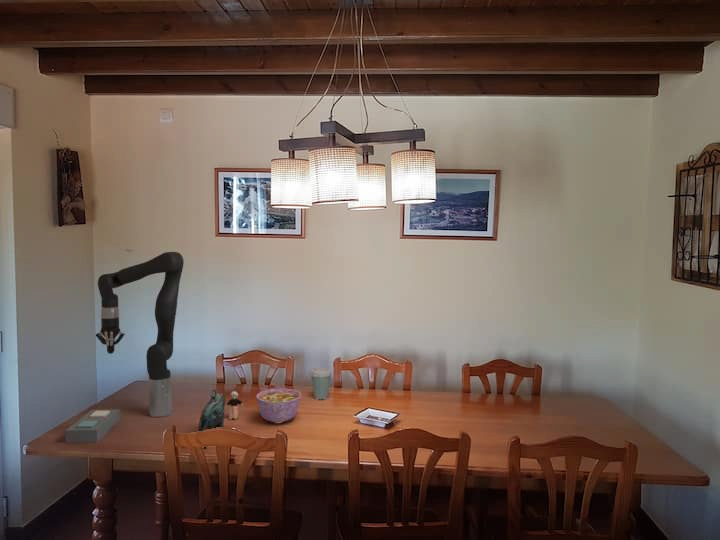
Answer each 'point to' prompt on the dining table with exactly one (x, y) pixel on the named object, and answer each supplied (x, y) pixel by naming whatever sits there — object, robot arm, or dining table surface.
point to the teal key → (87, 424)
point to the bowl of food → (278, 404)
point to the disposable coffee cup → (320, 382)
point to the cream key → (100, 414)
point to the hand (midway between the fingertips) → (110, 353)
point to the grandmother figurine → (234, 405)
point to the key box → (92, 433)
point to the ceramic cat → (213, 412)
